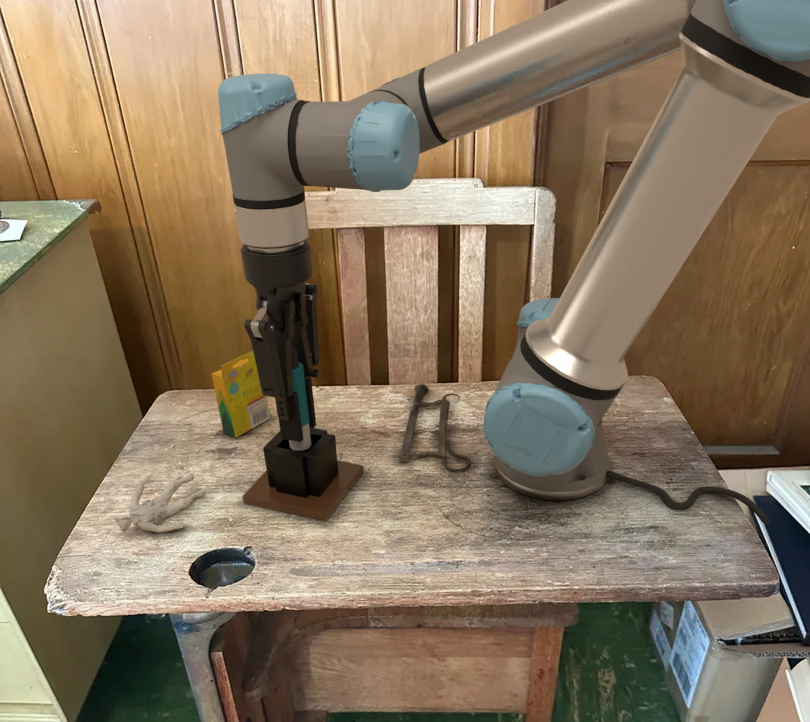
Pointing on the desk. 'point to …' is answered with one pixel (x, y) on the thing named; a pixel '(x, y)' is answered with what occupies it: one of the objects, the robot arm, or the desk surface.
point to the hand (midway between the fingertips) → (299, 431)
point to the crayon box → (240, 395)
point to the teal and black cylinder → (300, 403)
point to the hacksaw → (442, 453)
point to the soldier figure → (156, 507)
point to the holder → (303, 477)
